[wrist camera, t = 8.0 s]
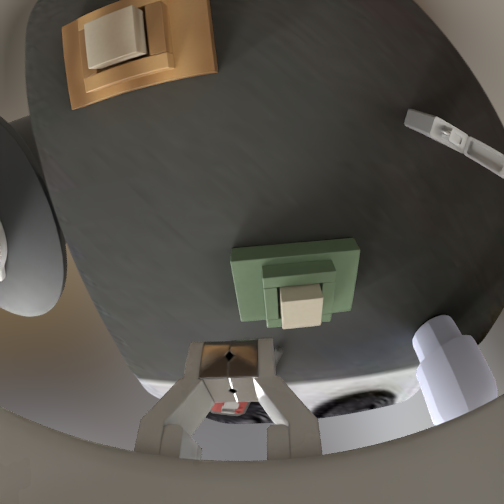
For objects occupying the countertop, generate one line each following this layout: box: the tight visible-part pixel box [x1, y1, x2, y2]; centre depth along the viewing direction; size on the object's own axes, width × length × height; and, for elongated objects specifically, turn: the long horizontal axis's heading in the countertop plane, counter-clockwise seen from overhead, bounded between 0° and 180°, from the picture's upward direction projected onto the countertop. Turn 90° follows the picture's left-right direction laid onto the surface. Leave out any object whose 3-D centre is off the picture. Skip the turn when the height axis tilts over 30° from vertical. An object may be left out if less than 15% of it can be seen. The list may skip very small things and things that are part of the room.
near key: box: [84, 5, 147, 69], centre depth 13 cm, size 4×4×2 cm
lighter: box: [404, 109, 504, 178], centre depth 17 cm, size 7×2×8 cm, turn 79°
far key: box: [280, 283, 323, 329], centre depth 25 cm, size 4×4×2 cm
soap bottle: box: [412, 315, 498, 426], centre depth 26 cm, size 10×10×24 cm
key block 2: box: [230, 238, 360, 327], centre depth 28 cm, size 12×8×4 cm, turn 96°
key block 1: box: [62, 0, 218, 110], centre depth 15 cm, size 12×8×4 cm, turn 96°
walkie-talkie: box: [210, 346, 283, 416], centre depth 38 cm, size 9×4×20 cm
